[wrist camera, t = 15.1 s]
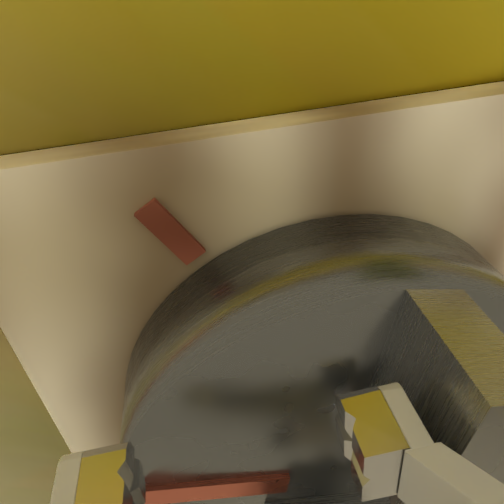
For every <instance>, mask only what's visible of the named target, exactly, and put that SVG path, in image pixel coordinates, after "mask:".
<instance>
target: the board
mask: <svg viewBox="0 0 504 504" xmlns="http://www.w3.org/2000/svg"><path fill="white" fill-rule="evenodd" d="M355 214H379V215H389V216H399V217H405V218H409V219H413V220H417V221H421V222H426V223H429V224H431V225H434V226H436V227H439V228H441V229H444V230H446V231H448V232H451V233H452V234H454V235H456V236H457V237H459V238H460V239H462V240H464V241H465V242H467V243H468V244H470V245H471V246H472V247H473V248H474V249H475V250H476V251H477V252H478V253H479V254H480V255H482V256H483V257H484V258H485V259H486V260H487V261H488V262H489V263H490V264H491V265H492V266H493V267H494V268H495V269H497V270H498V271H499V272H500V273H501V274H502V275H503V276H504V81H501V82H495V83H488V84H481V85H474V86H468V87H461V88H454V89H447V90H441V91H434V92H427V93H420V94H414V95H407V96H400V97H393V98H387V99H380V100H373V101H366V102H360V103H353V104H346V105H339V106H332V107H326V108H319V109H312V110H305V111H299V112H292V113H285V114H278V115H272V116H265V117H258V118H251V119H245V120H238V121H231V122H224V123H218V124H211V125H204V126H197V127H191V128H184V129H177V130H170V131H164V132H157V133H150V134H143V135H137V136H130V137H123V138H116V139H110V140H103V141H96V142H89V143H83V144H76V145H69V146H62V147H55V148H49V149H42V150H35V151H28V152H22V153H15V154H8V155H1V156H0V328H1V329H2V331H3V333H4V335H5V337H6V338H7V340H8V342H9V344H10V345H11V347H12V349H13V351H14V352H15V354H16V356H17V358H18V359H19V361H20V363H21V365H22V366H23V368H24V370H25V372H26V374H27V375H28V377H29V379H30V381H31V382H32V384H33V386H34V388H35V389H36V391H37V393H38V395H39V396H40V398H41V400H42V402H43V403H44V405H45V407H46V409H47V411H48V412H49V414H50V416H51V418H52V419H53V421H54V423H55V425H56V426H57V428H58V430H59V432H60V433H61V435H62V437H63V439H64V441H65V442H66V444H67V446H68V448H69V449H70V451H71V453H76V452H80V451H85V450H91V449H96V448H101V447H105V446H110V445H115V444H120V436H121V426H122V415H123V405H124V394H125V384H126V373H127V369H128V365H129V361H130V357H131V353H132V351H133V348H134V346H135V344H136V342H137V340H138V337H139V335H140V333H141V331H142V330H143V328H144V327H145V325H146V323H147V322H148V320H149V319H150V317H151V316H152V314H153V313H154V311H155V310H156V309H157V308H158V307H159V306H160V305H161V303H162V302H163V301H164V300H165V299H166V298H167V297H168V295H169V294H170V293H171V292H172V291H173V290H174V289H175V288H176V287H178V286H179V285H180V284H181V283H182V282H183V281H185V280H186V279H187V278H188V277H189V276H190V275H191V274H193V273H194V272H195V271H196V270H198V269H199V268H201V267H202V266H204V265H205V264H207V263H208V262H210V261H211V260H213V259H214V258H216V257H217V256H219V255H220V254H222V253H224V252H226V251H228V250H230V249H232V248H234V247H236V246H238V245H239V244H241V243H243V242H245V241H247V240H249V239H252V238H254V237H257V236H260V235H262V234H265V233H267V232H270V231H272V230H275V229H278V228H281V227H284V226H288V225H292V224H296V223H300V222H303V221H307V220H311V219H318V218H325V217H331V216H338V215H355Z"/></svg>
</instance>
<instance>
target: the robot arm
mask: <svg viewBox="0 0 504 504" xmlns="http://www.w3.org/2000/svg"><path fill="white" fill-rule="evenodd" d="M335 405H336V408H337V410H338V414H337V415H336V416H335V421H336V430H337V435H338V439H339V442H340V446H341V449H342V451H343V454H344V456H345V457H346V458H348V459H349V460H350V461H351V476H352V478H353V481H354V484H355V486H356V489H357V491H358V494H359V497H360V499H361V502H364V501H369V500H374V499H378V498H383V497H388V496H393V495H397V494H398V495H397V497H398V498H399V499H400V500H402V501H403V502H404V503H405V504H504V484H503V483H501V482H500V481H498V480H497V479H495V478H494V477H492V476H491V475H489V474H488V473H486V472H485V471H483V470H482V469H480V468H479V467H477V466H476V465H474V464H473V463H471V462H470V461H468V460H467V459H465V458H464V457H462V456H461V455H459V454H458V453H456V452H455V451H453V450H452V449H450V448H449V447H448V446H446V445H445V444H443V443H442V442H437V443H434V442H433V440H432V438H431V436H430V435H429V433H428V431H427V429H426V428H425V426H424V424H423V422H422V421H421V419H420V417H419V415H418V414H417V412H416V410H415V408H414V407H413V405H412V403H411V401H410V400H409V398H408V396H407V395H406V393H405V391H404V389H403V388H402V386H401V385H400V384H399V383H398V382H394V383H390V384H386V385H381V386H377V387H376V386H374V387H370V388H366V389H362V390H357V391H353V392H349V393H345V394H341V395H337V396H336V398H335ZM134 456H135V449H134V447H133V445H132V443H131V441H130V442H125V443H120V444H115V445H110V446H105V447H101V448H96V449H91V450H85V451H80V452H76V453H71V454H67V455H62V456H61V458H60V460H59V462H58V464H57V469H56V474H55V479H54V484H53V489H52V494H51V499H50V504H145V502H146V486H145V475H144V471H143V467H142V464H141V462H140V460H138V459H136V458H134Z"/></svg>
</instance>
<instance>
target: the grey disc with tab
mask: <svg viewBox="0 0 504 504" xmlns="http://www.w3.org/2000/svg"><path fill="white" fill-rule="evenodd" d="M394 382H398V383H399V384H400V385H401V386H402V388H403V389H404V391H405V393H406V395H407V396H408V398H409V400H410V401H411V403H412V405H413V407H414V408H415V410H416V412H417V414H418V415H419V417H420V419H421V421H422V422H423V424H424V426H425V428H426V429H427V431H428V433H429V435H430V436H431V438H432V440H433V442H434V443H437V442H442V443H443V444H445V445H446V446H448V447H449V448H450V449H452V450H453V451H455V452H456V453H458V454H459V455H461V456H462V457H464V458H465V459H467V460H468V461H470V462H471V463H473V464H474V465H476V466H477V467H479V468H480V469H482V470H483V471H485V472H486V473H488V474H489V475H491V476H492V477H494V478H495V479H497V480H498V481H500V482H501V483H503V484H504V276H503V275H502V274H501V273H500V272H499V271H498V270H497V269H495V268H494V267H493V266H492V265H491V264H490V263H489V262H488V261H487V260H486V259H485V258H484V257H483V256H482V255H480V254H479V253H478V252H477V251H476V250H475V249H474V248H473V247H472V246H471V245H470V244H468V243H467V242H465V241H464V240H462V239H460V238H459V237H457V236H456V235H454V234H452V233H451V232H448V231H446V230H444V229H441V228H439V227H436V226H434V225H431V224H429V223H426V222H421V221H417V220H413V219H409V218H405V217H399V216H389V215H379V214H355V215H338V216H331V217H325V218H318V219H311V220H307V221H303V222H300V223H296V224H292V225H288V226H284V227H281V228H278V229H275V230H272V231H270V232H267V233H265V234H262V235H260V236H257V237H254V238H252V239H249V240H247V241H245V242H243V243H241V244H239V245H238V246H236V247H234V248H232V249H230V250H228V251H226V252H224V253H222V254H220V255H219V256H217V257H216V258H214V259H213V260H211V261H210V262H208V263H207V264H205V265H204V266H202V267H201V268H199V269H198V270H196V271H195V272H194V273H193V274H191V275H190V276H189V277H188V278H187V279H186V280H185V281H183V282H182V283H181V284H180V285H179V286H178V287H176V288H175V289H174V290H173V291H172V292H171V293H170V294H169V295H168V297H167V298H166V299H165V300H164V301H163V302H162V303H161V305H160V306H159V307H158V308H157V309H156V310H155V311H154V313H153V314H152V316H151V317H150V319H149V320H148V322H147V323H146V325H145V327H144V328H143V330H142V331H141V333H140V335H139V337H138V340H137V342H136V344H135V346H134V348H133V351H132V353H131V357H130V361H129V365H128V369H127V373H126V384H125V394H124V405H123V415H122V426H121V436H120V443H125V442H130V441H131V443H132V445H133V447H134V449H135V456H134V458H136V459H138V460H140V462H141V464H142V467H143V471H144V475H145V486H146V502H145V504H405V503H404V502H403V501H402V500H400V499H399V498H398V497H397V495H398V494H397V495H393V496H388V497H383V498H378V499H374V500H369V501H364V502H361V499H360V497H359V494H358V491H357V489H356V486H355V484H354V481H353V478H352V476H351V461H350V460H349V459H348V458H346V457H345V456H344V454H343V451H342V449H341V446H340V442H339V439H338V435H337V430H336V421H335V416H336V415H337V414H338V410H337V408H336V405H335V398H336V396H337V395H341V394H345V393H349V392H353V391H357V390H362V389H366V388H370V387H374V386H376V387H377V386H381V385H386V384H390V383H394Z"/></svg>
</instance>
